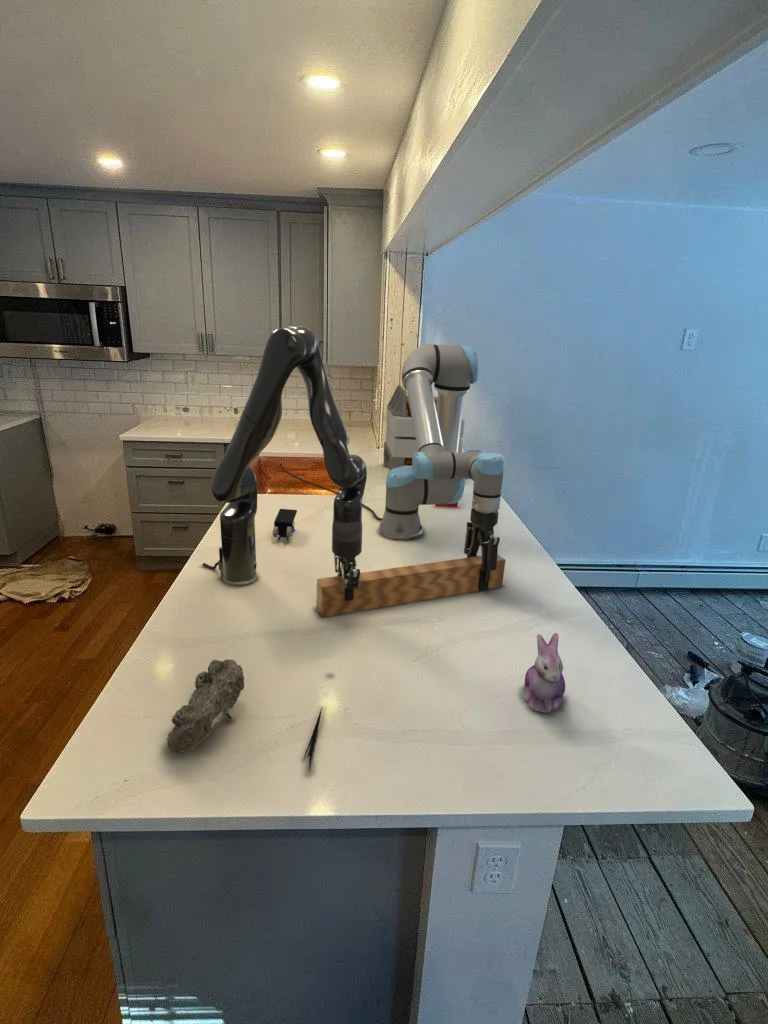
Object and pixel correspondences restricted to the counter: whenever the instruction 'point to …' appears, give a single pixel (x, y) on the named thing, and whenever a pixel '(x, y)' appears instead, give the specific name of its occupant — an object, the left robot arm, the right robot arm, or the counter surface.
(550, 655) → the figurine
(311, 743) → the feather
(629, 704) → the counter surface
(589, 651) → the counter surface
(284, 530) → the figurine character
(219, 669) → the fossil
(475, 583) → the beam
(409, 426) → the grey and brown box
